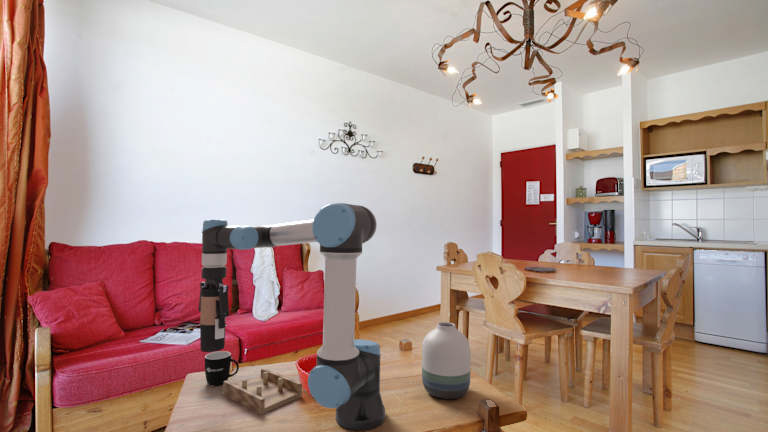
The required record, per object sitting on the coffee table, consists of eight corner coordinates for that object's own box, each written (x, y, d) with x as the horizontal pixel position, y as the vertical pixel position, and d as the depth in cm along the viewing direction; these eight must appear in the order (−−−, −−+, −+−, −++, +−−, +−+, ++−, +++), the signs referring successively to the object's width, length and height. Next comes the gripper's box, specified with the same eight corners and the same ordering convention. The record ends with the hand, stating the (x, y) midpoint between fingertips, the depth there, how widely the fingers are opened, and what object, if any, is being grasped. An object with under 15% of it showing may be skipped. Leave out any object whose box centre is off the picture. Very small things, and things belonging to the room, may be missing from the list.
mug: (200, 388, 135) (200, 359, 135) (209, 378, 144) (209, 351, 144) (235, 387, 136) (235, 358, 136) (241, 377, 145) (242, 350, 145)
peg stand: (301, 396, 129) (301, 380, 129) (261, 414, 116) (261, 396, 116) (263, 379, 142) (263, 365, 143) (223, 394, 130) (223, 378, 130)
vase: (412, 387, 137) (413, 321, 138) (450, 379, 145) (450, 316, 145) (440, 408, 122) (440, 333, 123) (480, 397, 130) (480, 327, 130)
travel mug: (200, 346, 126) (202, 286, 126) (225, 344, 129) (226, 285, 129) (198, 353, 119) (199, 289, 119) (224, 351, 121) (225, 288, 122)
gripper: (242, 267, 121) (240, 339, 121) (209, 263, 134) (208, 328, 133) (219, 269, 115) (218, 344, 115) (188, 265, 128) (186, 332, 127)
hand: (212, 335), depth 124 cm, fingers closed on travel mug, 8 cm apart
